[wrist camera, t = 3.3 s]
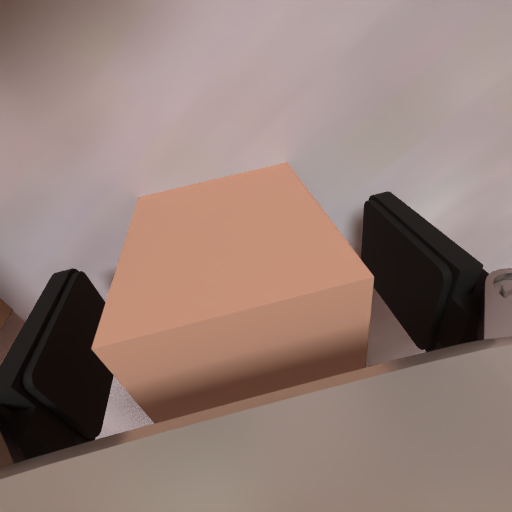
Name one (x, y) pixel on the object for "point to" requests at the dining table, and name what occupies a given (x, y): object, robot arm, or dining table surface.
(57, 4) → the dining table surface
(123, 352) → the terracotta block
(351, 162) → the dining table surface
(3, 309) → the walnut base block
